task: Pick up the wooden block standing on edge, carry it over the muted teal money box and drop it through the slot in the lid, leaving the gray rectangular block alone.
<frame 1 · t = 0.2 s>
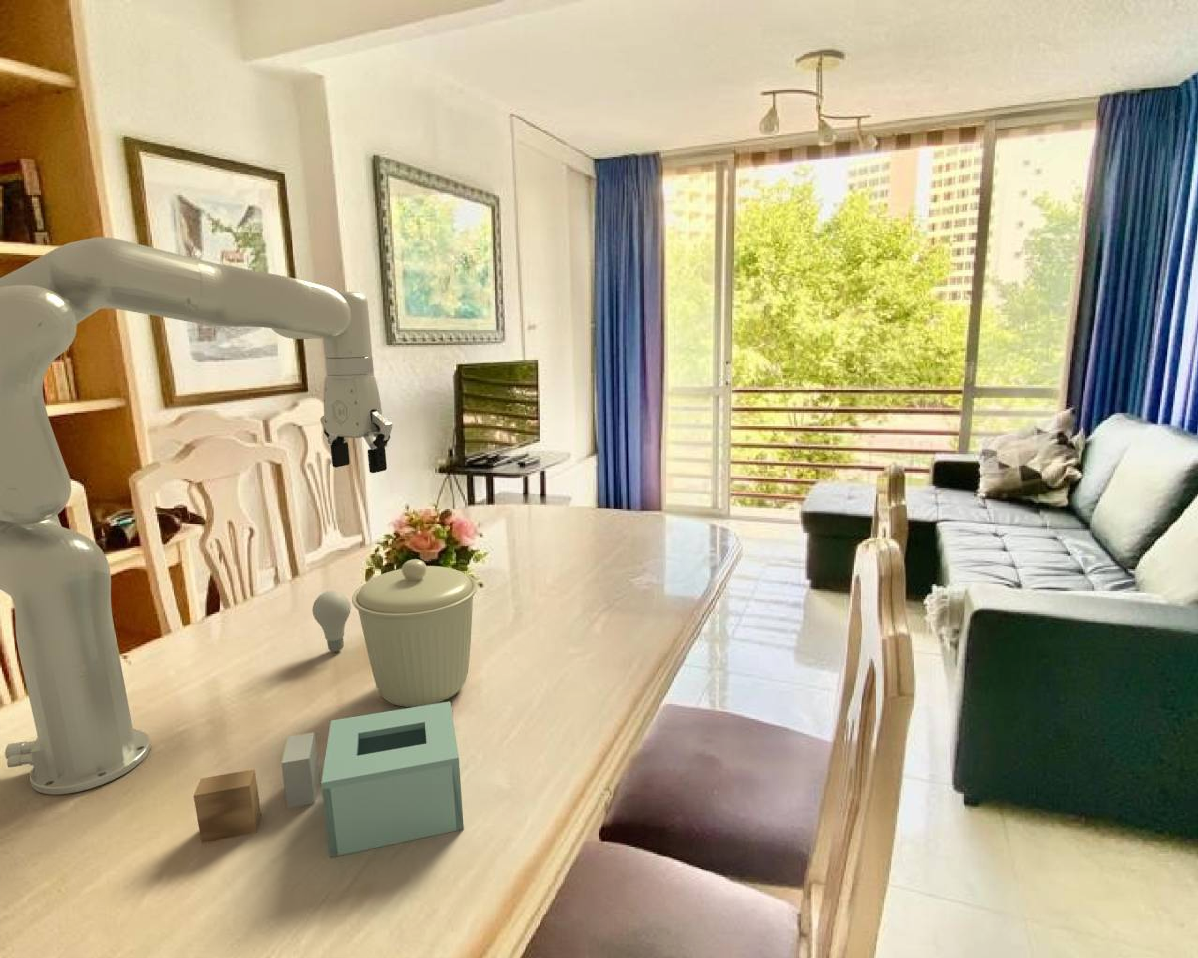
hand: (359, 468, 119), 31 cm above the table, tool pointing down, fingers open, 9 cm apart
gray rectangular block: (303, 791, 84), on the table
canister: (423, 690, 106), on the table
wooden block: (232, 828, 78), on the table
lightbulb: (336, 652, 120), on the table
coin box: (398, 806, 81), on the table
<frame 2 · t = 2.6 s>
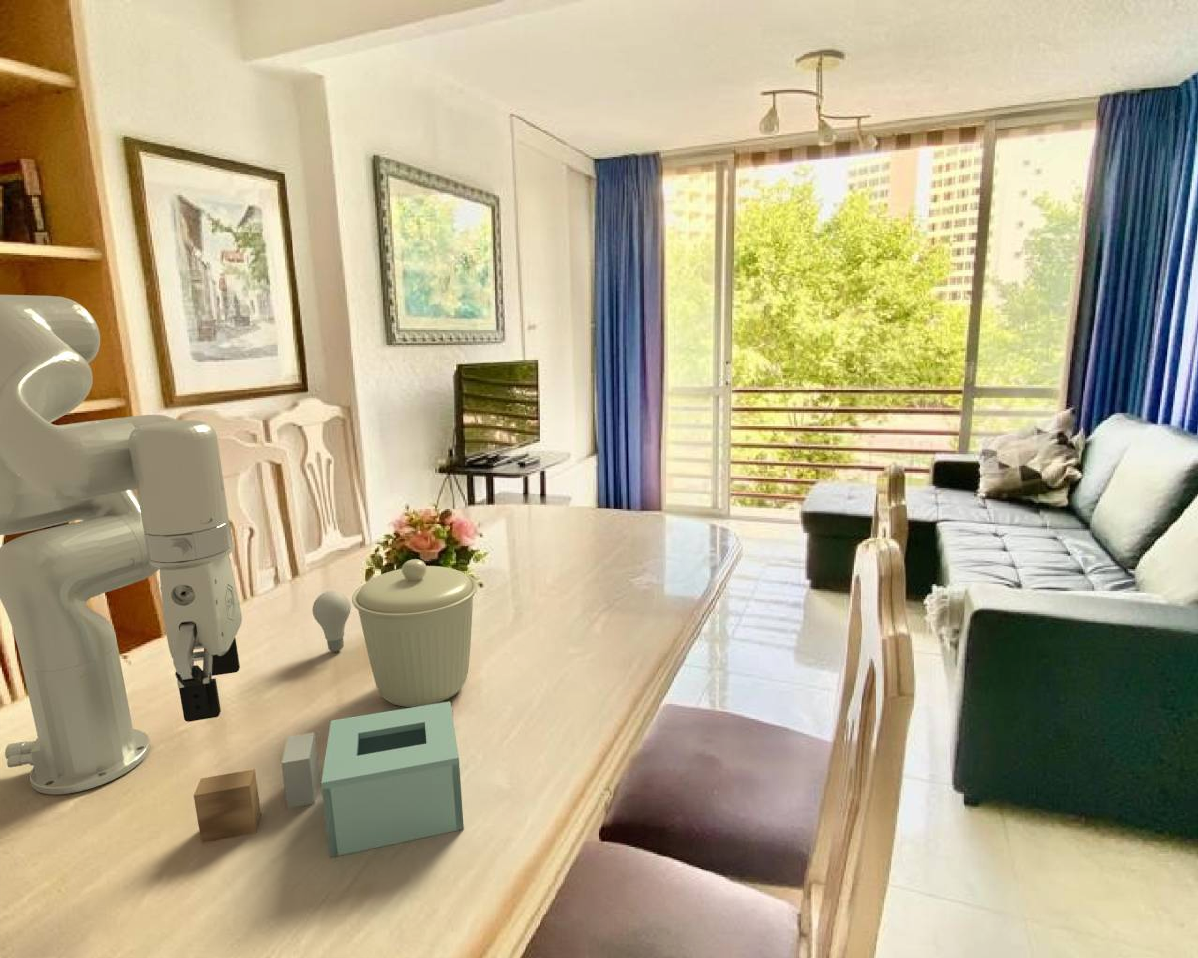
hand: (214, 694, 74), 17 cm above the table, tool pointing down, fingers open, 9 cm apart
nothing on the table moved.
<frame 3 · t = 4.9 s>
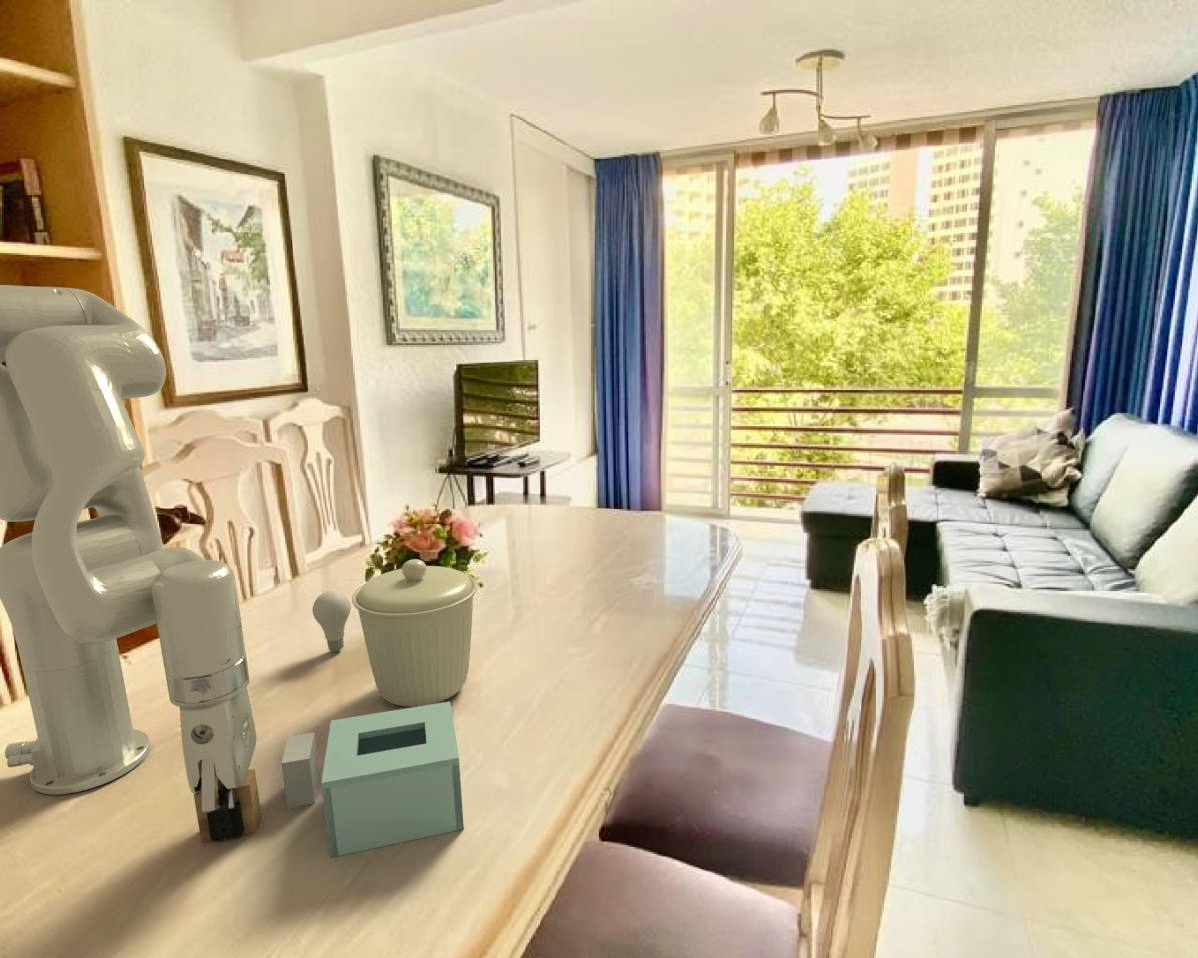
hand: (231, 824, 77), 0 cm above the table, tool pointing down, fingers closed on wooden block, 3 cm apart
wooden block: (232, 828, 78), on the table, touching gripper
everything else where it was.
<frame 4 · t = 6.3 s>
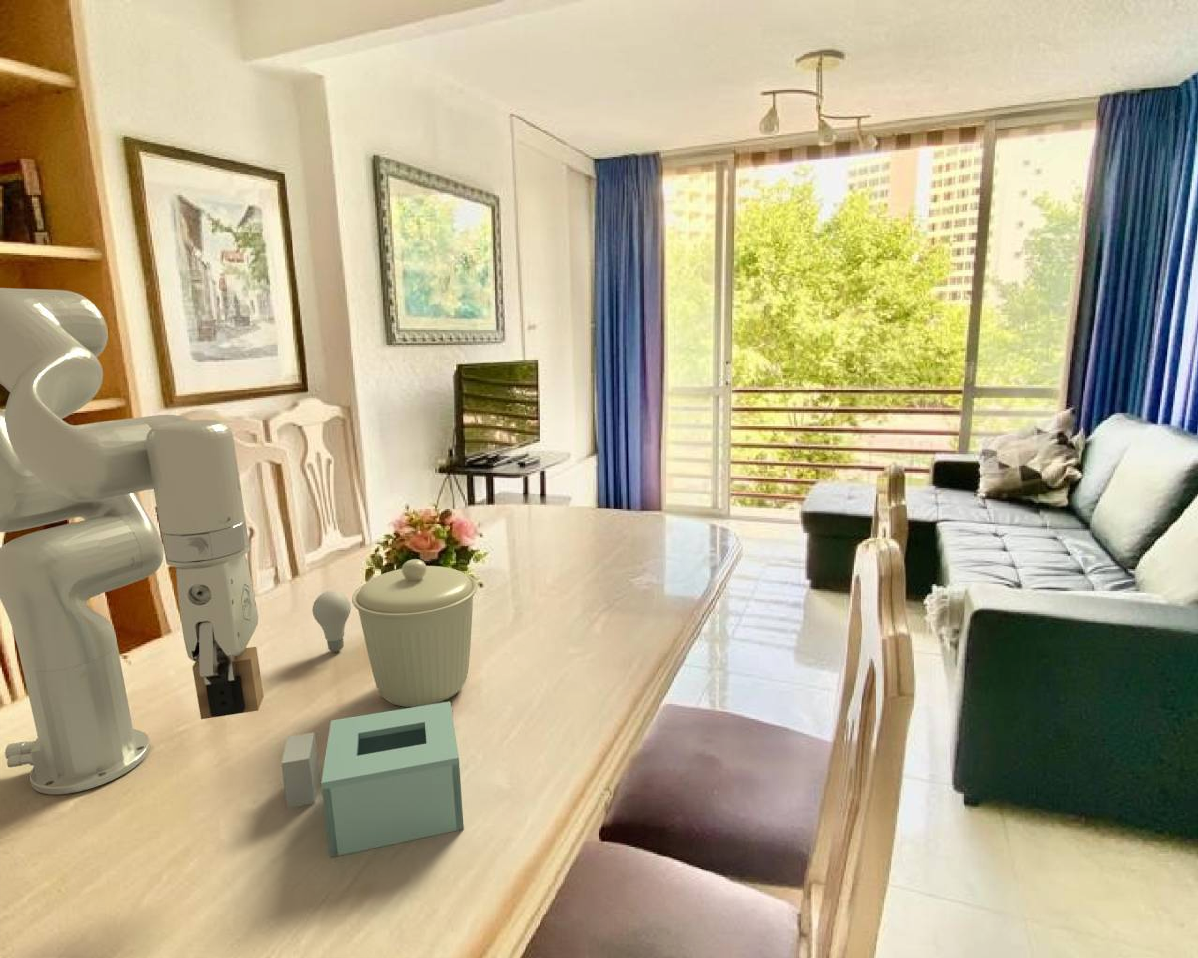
hand: (232, 703, 74), 15 cm above the table, tool pointing down, fingers closed on wooden block, 3 cm apart
wooden block: (233, 707, 74), point 15 cm above the table, touching gripper
everything else where it was.
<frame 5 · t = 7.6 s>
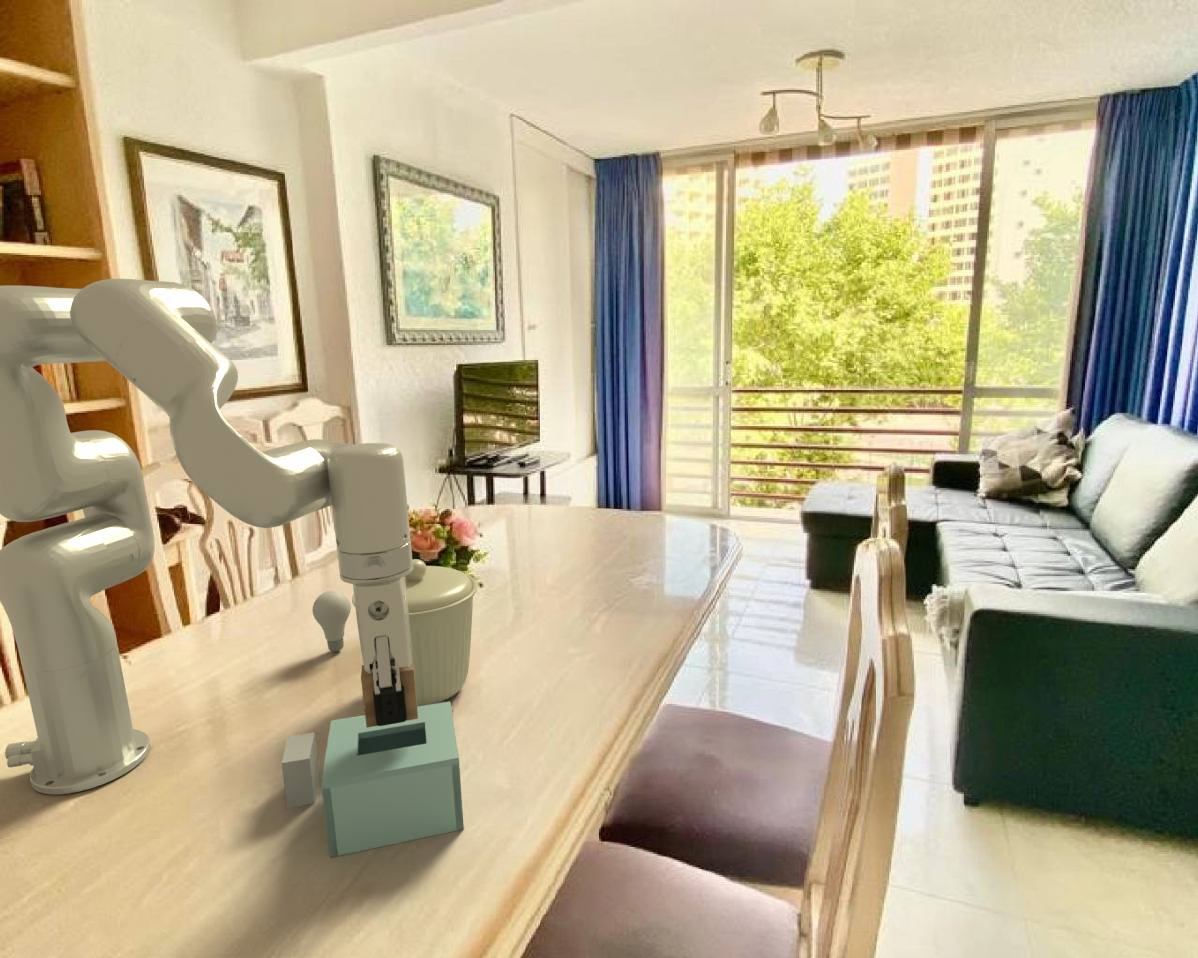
hand: (391, 712, 78), 12 cm above the table, tool pointing down, fingers closed on wooden block, 3 cm apart
wooden block: (392, 715, 78), point 12 cm above the table, touching gripper
everything else where it was.
when the fingers open (10 cm above the table, at t = 8.1 s): wooden block drops 9 cm, resting on coin box.
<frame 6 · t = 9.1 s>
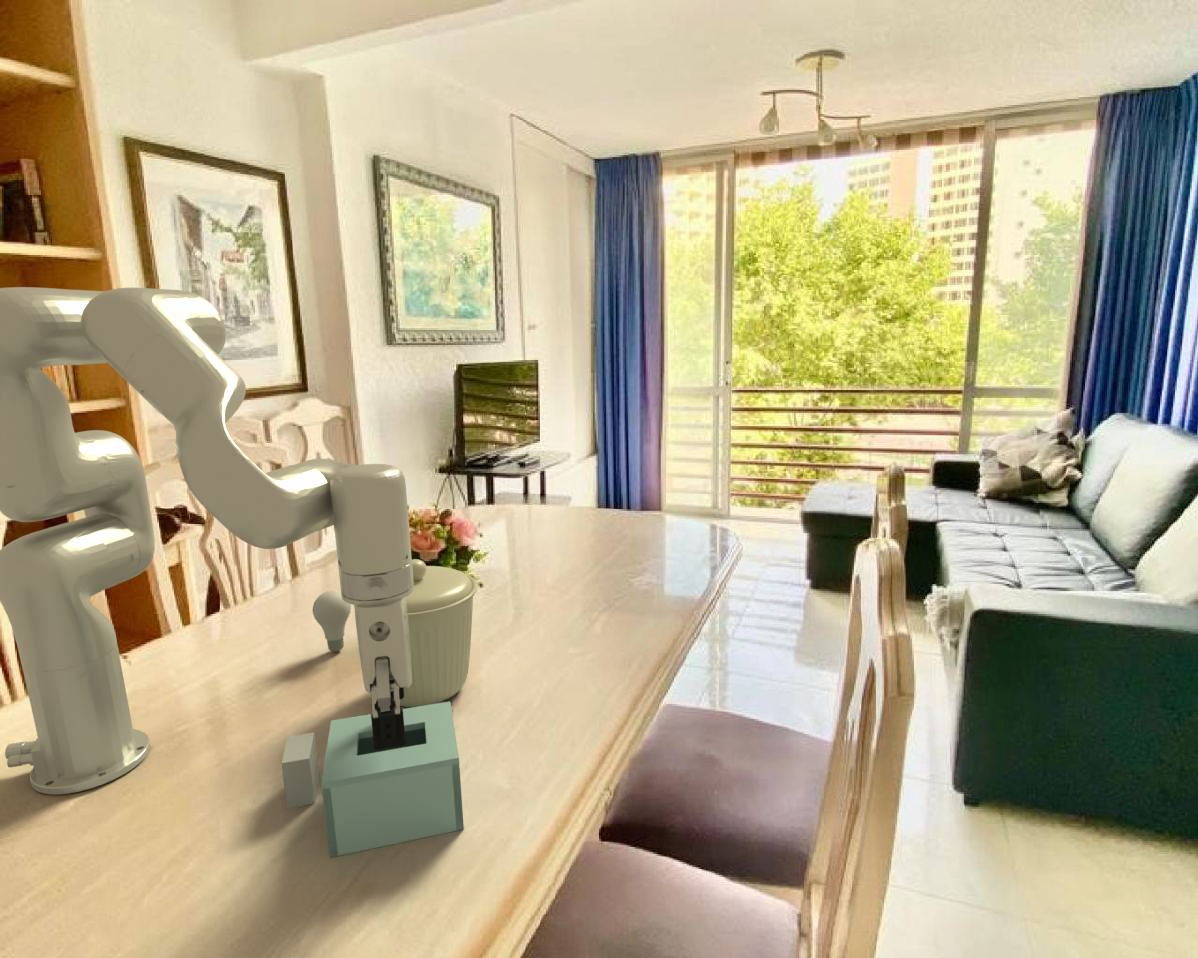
hand: (390, 721, 78), 11 cm above the table, tool pointing down, fingers open, 9 cm apart
wooden block: (398, 805, 80), resting on coin box
everything else where it was.
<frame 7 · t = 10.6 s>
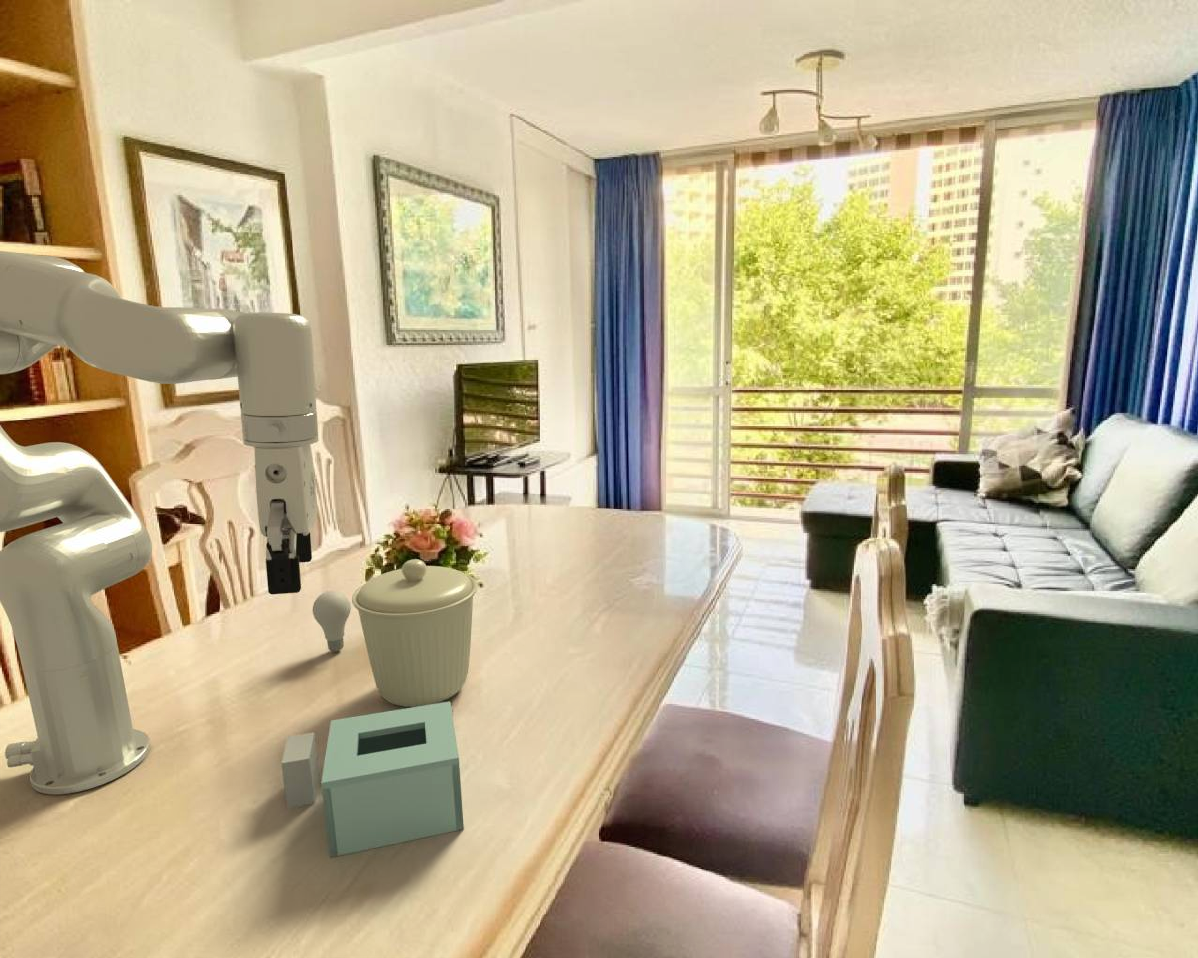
hand: (291, 576, 79), 27 cm above the table, tool pointing down, fingers open, 9 cm apart
nothing on the table moved.
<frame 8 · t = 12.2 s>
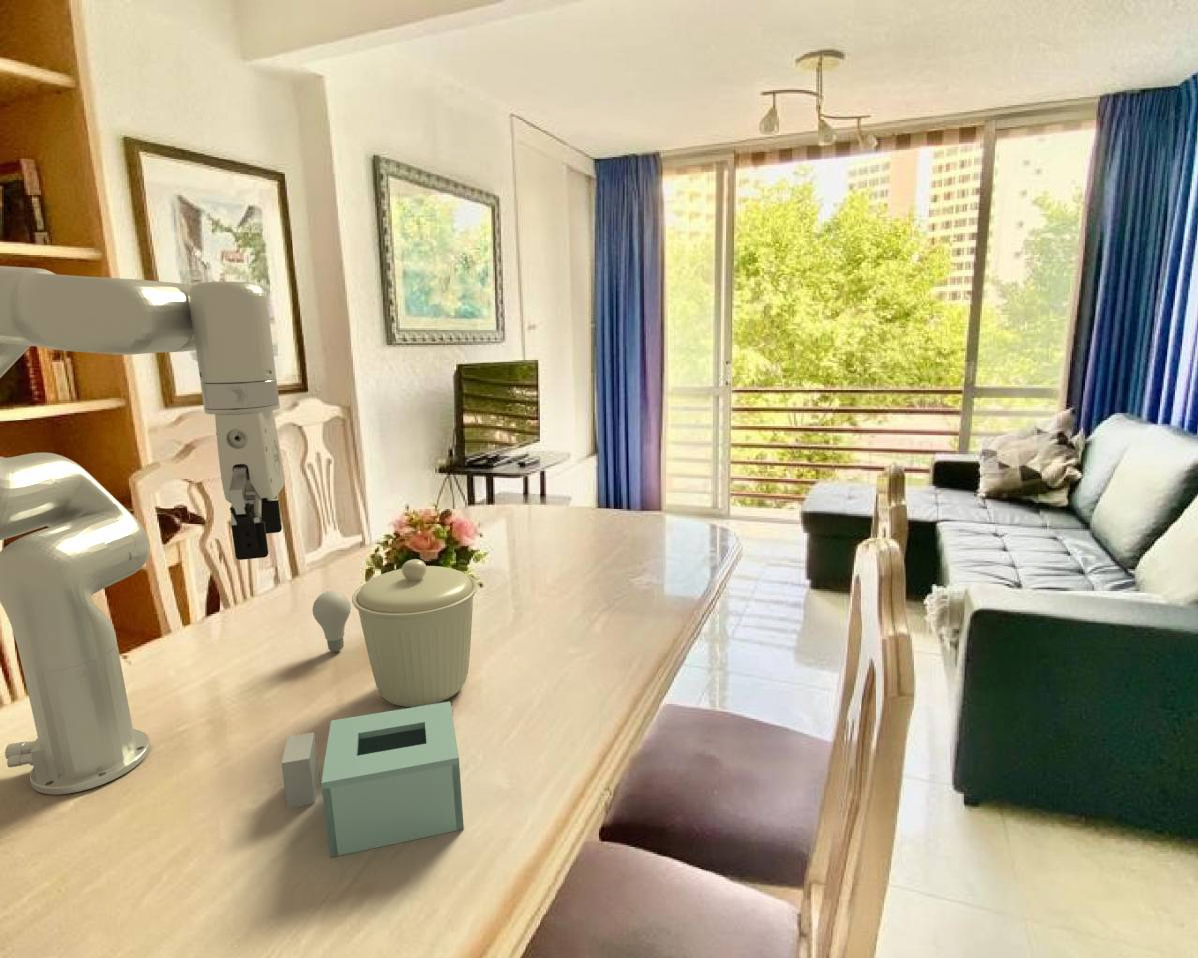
hand: (260, 544, 80), 30 cm above the table, tool pointing down, fingers open, 9 cm apart
nothing on the table moved.
at the end: wooden block inside the target area on the coin box (0.3 cm from its centre), point 0.4 cm above the coin box's base; the gripper is holding nothing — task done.
